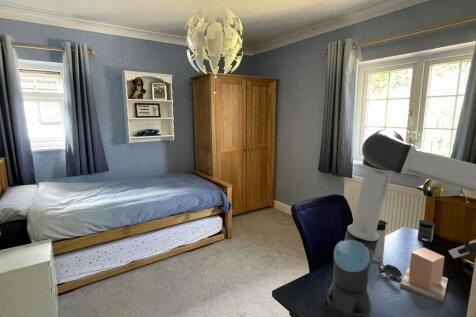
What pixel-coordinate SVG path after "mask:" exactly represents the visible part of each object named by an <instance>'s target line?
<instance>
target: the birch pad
mask: <svg viewBox="0 0 476 317" xmlns="http://www.w3.org/2000/svg"><path fill="white" fill-rule="evenodd" d="M409 271H410V265H408V266H407V268H406V270H405V272H404V275H403V277H402V278H401V279H402V281H401V282H399V283H400V284H399V285H400V287H401V288H403V289H407V291H408V290H410V291H411V292H414V293H417V294H418V295H423V296H424V297H427V298H430V299H432V300H436V301H438V302H440V303H444V300H445V296H446V290H447V285H448V280H449V279H448V278H449V277H448V278H447V277H446V276H442V280H441V284H439V285H437V286H435V287H434V288H432V289H430V290H429V289H427V288H425V287H424V286H422V285H420V284H418V283H416V282H415V281H413V280H411V279H409Z"/></svg>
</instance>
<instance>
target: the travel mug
mask: <svg viewBox="0 0 476 317" xmlns="http://www.w3.org/2000/svg"><path fill="white" fill-rule="evenodd" d="M387 225H388V223H387V221H385V220H382V219H379V222H378V226H377V229H376V232H377V233H378V235H379V239H378V243H377V250H376V253H375V254H374V257H373V260H372V263H374V264H381V262H382V263H383V262H384V252H385V240H386V230H387V229H386V228H387Z"/></svg>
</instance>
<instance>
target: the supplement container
mask: <svg viewBox="0 0 476 317" xmlns="http://www.w3.org/2000/svg"><path fill="white" fill-rule="evenodd" d="M434 228H435V222H433V221H431V220H428V219H427V220H426V219H419V221H418V227H417V240H418V241H420V242H422V243H427V244H430V243H432V241H433V238H434V237H433V236H434Z"/></svg>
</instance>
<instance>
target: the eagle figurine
mask: <svg viewBox="0 0 476 317" xmlns="http://www.w3.org/2000/svg"><path fill="white" fill-rule="evenodd" d="M380 264H381V266H382V267H381V266H380ZM380 264H378V265H377V266H378V267H377V271H378V274H379V275H381V274H383V273H384V274H385V276H386V277H387V281H389V280H390V275H391V276H392V277H394V278H395V279H396V280H397V281H398V282H399V283H401V281H402V279H403V278H401V277H402V276H403V275H402V274H403V273H402V272H401V270H400V269H399V268H398V267H396V266H394V265H391V264H387V263H386V265H384V263H383V262H381V263H380Z"/></svg>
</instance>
